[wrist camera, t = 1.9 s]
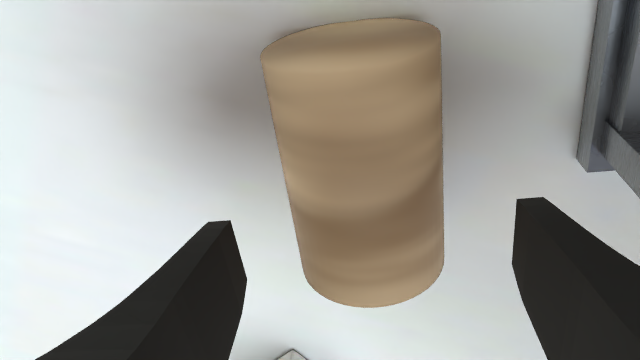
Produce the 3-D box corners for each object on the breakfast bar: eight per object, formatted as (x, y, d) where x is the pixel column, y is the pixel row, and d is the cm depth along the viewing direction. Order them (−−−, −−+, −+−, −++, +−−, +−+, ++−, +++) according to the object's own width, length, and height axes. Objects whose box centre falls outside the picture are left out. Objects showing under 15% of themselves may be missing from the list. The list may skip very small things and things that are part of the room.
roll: (443, 215, 20) (444, 311, 16) (318, 215, 21) (287, 303, 17) (440, 12, 16) (441, 65, 12) (285, 26, 17) (235, 79, 13)
